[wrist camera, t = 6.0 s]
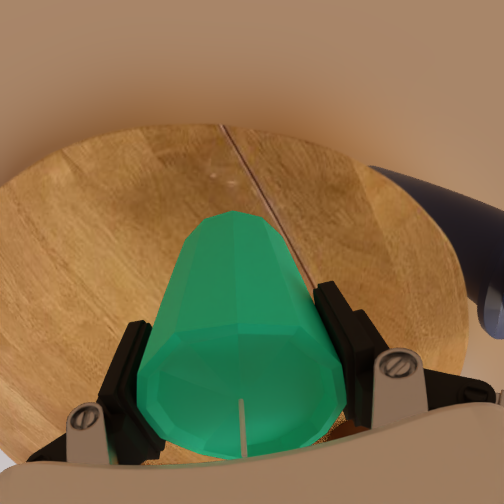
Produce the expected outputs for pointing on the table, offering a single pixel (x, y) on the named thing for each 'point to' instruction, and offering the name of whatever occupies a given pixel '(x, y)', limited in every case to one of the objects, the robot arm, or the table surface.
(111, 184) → the table surface
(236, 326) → the candle
